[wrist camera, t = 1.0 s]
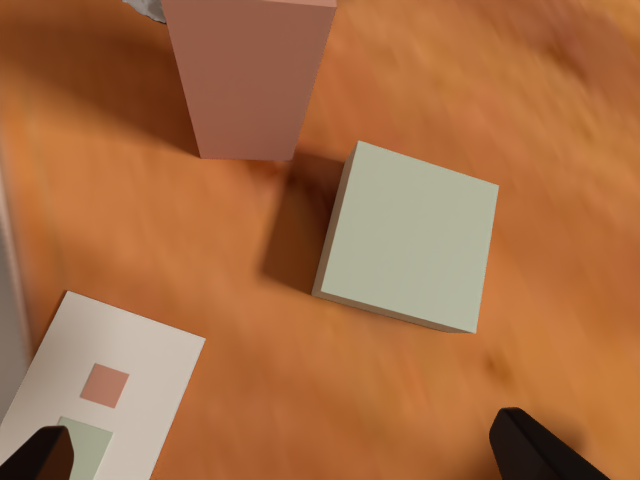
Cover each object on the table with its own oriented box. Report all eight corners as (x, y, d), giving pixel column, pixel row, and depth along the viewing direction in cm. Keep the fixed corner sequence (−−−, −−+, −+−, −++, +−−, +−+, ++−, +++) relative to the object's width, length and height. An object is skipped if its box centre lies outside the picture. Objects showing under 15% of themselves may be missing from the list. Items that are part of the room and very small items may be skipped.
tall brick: (291, 160, 24) (336, 7, 12) (200, 158, 23) (158, -10, 12) (288, 81, 25) (327, -130, 13) (201, 76, 24) (162, -156, 12)
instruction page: (118, 555, 19) (116, 558, 19) (-40, 509, 18) (-45, 512, 18) (205, 338, 21) (205, 338, 21) (69, 290, 21) (66, 290, 20)
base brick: (447, 332, 24) (475, 333, 21) (310, 295, 23) (320, 291, 20) (469, 201, 25) (498, 185, 23) (344, 162, 25) (358, 140, 22)
